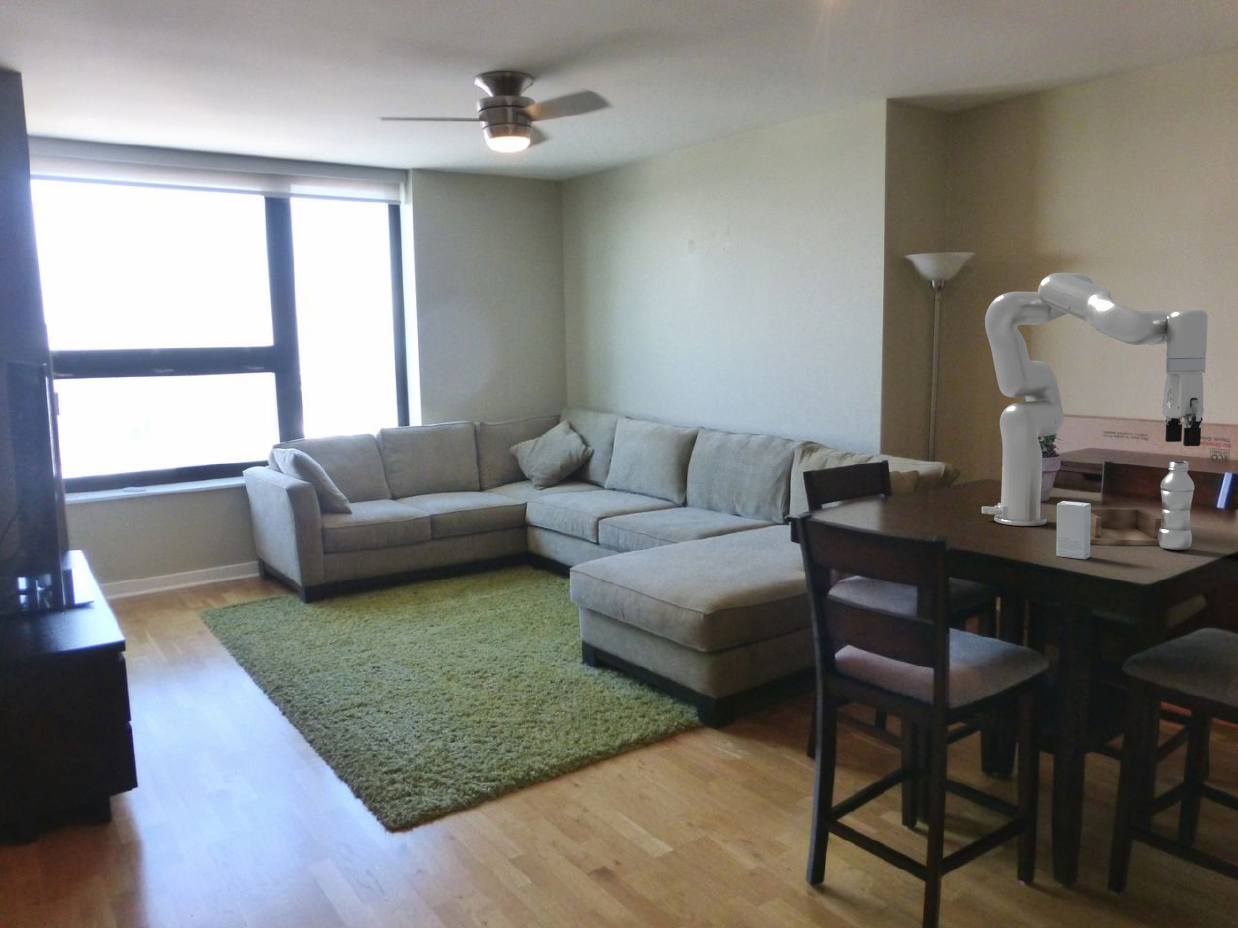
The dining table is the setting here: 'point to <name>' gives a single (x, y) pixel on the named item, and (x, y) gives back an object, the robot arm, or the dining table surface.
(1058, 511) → the skincare box
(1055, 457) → the potted plant
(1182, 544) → the silver bottle
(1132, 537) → the brown tray
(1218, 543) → the dining table surface
